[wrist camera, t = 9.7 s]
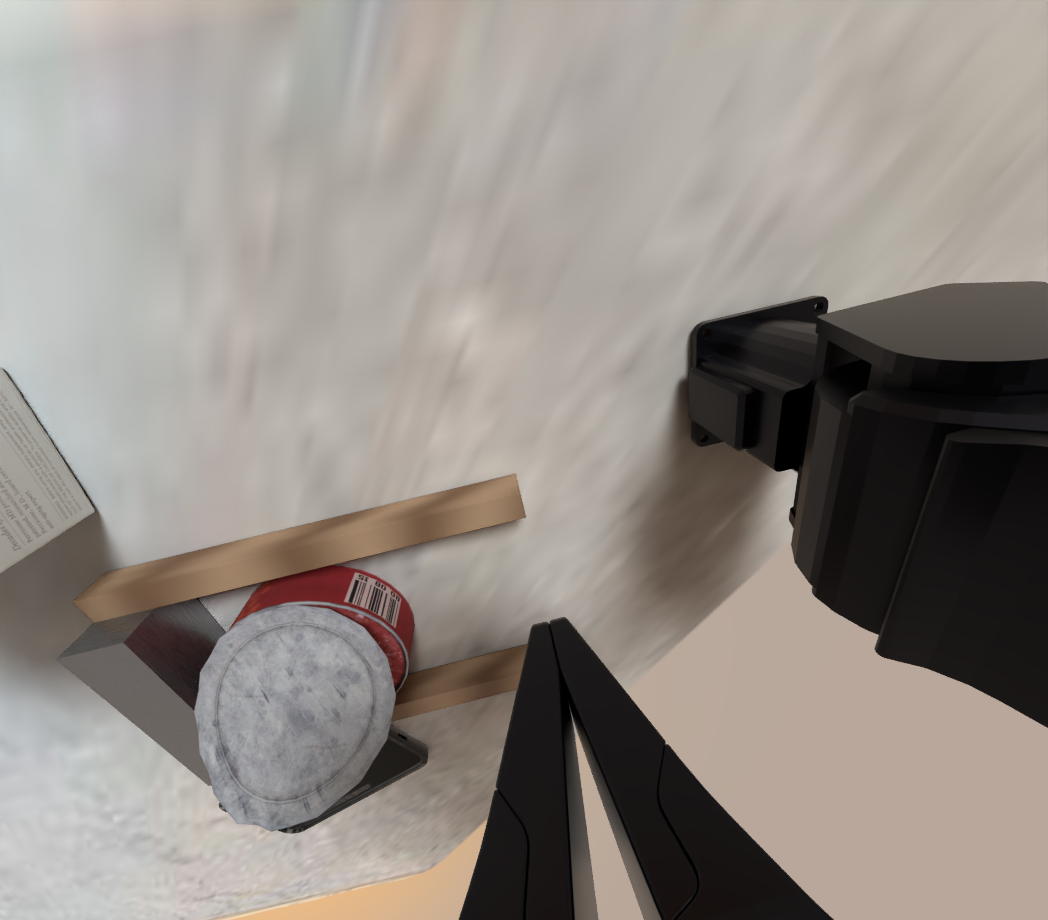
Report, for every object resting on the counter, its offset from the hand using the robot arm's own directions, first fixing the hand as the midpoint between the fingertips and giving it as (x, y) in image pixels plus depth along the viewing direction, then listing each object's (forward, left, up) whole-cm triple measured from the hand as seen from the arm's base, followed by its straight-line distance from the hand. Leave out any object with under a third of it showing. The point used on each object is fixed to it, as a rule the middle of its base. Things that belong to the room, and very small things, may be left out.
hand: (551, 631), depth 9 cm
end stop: (+21, +10, -12) cm, 26 cm away
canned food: (+13, +10, -12) cm, 21 cm away
